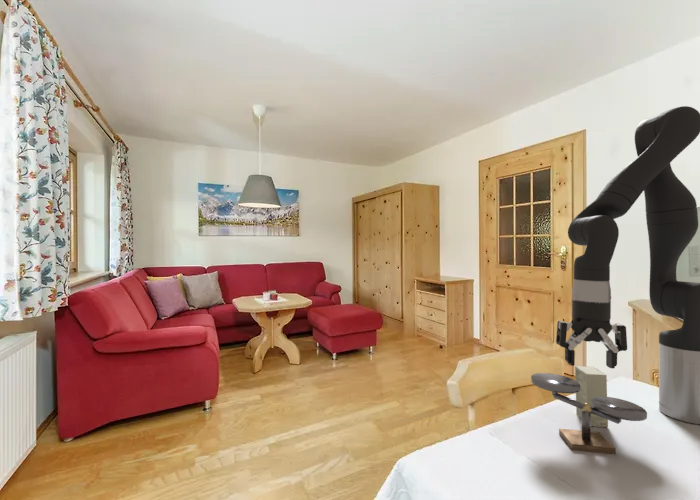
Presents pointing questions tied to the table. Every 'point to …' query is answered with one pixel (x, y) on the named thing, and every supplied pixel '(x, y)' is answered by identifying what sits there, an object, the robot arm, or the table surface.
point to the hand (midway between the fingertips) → (590, 366)
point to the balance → (588, 413)
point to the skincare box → (591, 390)
